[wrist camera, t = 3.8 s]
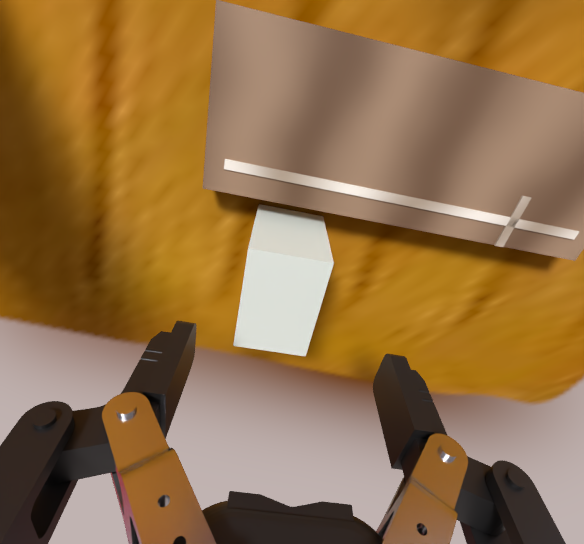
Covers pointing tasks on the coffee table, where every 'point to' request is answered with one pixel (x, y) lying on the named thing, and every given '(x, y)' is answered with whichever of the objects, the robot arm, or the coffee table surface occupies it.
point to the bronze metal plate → (392, 135)
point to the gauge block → (283, 281)
